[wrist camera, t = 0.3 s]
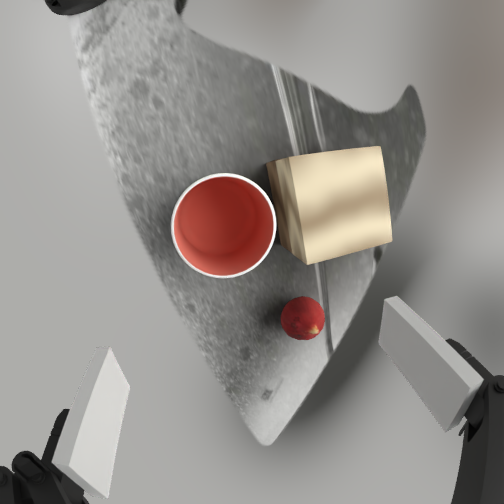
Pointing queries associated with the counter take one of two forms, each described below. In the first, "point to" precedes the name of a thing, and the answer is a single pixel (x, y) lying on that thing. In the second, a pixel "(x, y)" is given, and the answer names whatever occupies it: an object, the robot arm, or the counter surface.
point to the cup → (223, 225)
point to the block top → (335, 202)
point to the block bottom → (278, 205)
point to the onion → (302, 318)
